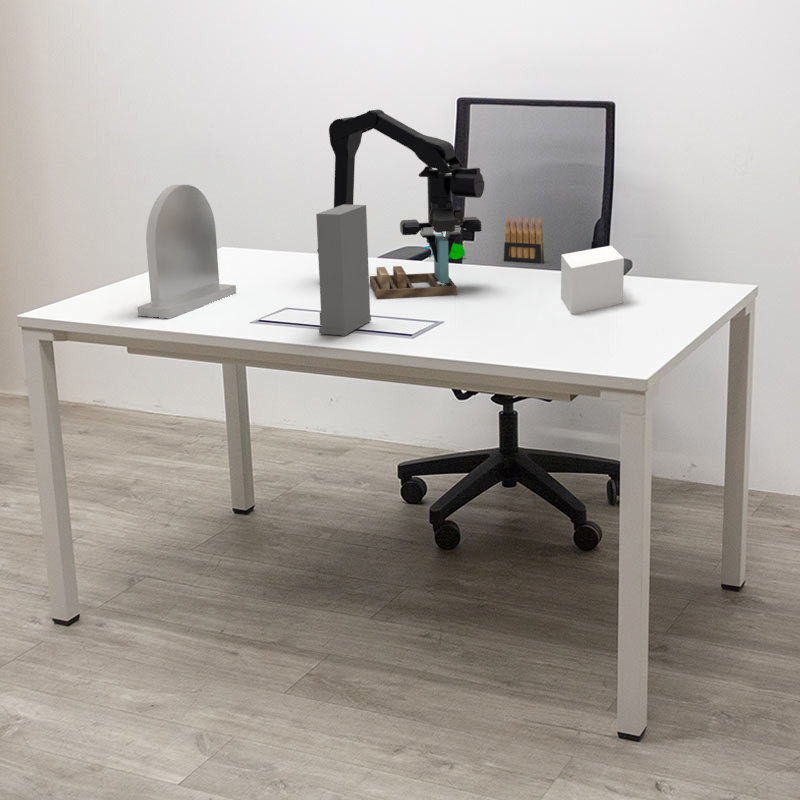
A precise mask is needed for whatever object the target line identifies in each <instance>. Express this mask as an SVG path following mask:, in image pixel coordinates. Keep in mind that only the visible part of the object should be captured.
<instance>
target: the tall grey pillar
mask: <svg viewBox="0 0 800 800" xmlns="http://www.w3.org/2000/svg"><path fill="white" fill-rule="evenodd" d="M315 214H316V232H317V233H316V234H317V235H316V236H317V249H318V251H317V257H318V275H319V277H318V278H319V280H318V281H319V295H320V312H319V326H320V327H319V328H318V333H319V334H320V335H322V336H324V335H333V336H334V335H335V336H341V337H346V336H347V335H349V334H350V333H352V332H354V331H355V330H357V329H358V328H360V327H362V326H364V325H365V324H367V323H370V321H372V315H371V306H370V305H371V304H370V303H371V302H370V275H369V274H370V272H369V252H368V251H369V246H368V244H369V243H368V220H367V219H368V218H367V216H368V215H367V204H353V205H345V204H343V205H341V206H338V207H335V208H334V207H333V208H329V209H327V210H324V211H321V212H318V213H315Z"/></svg>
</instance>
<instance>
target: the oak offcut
mask: <svg viewBox="0 0 800 800" xmlns="http://www.w3.org/2000/svg"><path fill="white" fill-rule="evenodd" d="M392 272H393V274H392V275H393V280H394V284H395V286H396V288H397V289H404V288H407V285H406V274H407V273H406V271H405V270H404V268H403V267H402V265H399V266H398V265H395V266H392Z"/></svg>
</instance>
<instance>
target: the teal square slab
mask: <svg viewBox="0 0 800 800" xmlns="http://www.w3.org/2000/svg"><path fill="white" fill-rule="evenodd" d="M434 235H435V242H436V249H437V263H436V262H435V260H434V259H433V265H434V266H433V267H434V268H433V269H434V272H433V273H434V275H435V277H436V278H437V279H438V281H437V282H439V283H440V284H445V283H449V278H450V276H449V275H450V269H449V259H448V240H447V239H446V238H445V235H444V234H443V235H442V234H441V233H437V234H436V233H435V234H434Z"/></svg>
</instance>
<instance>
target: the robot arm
mask: <svg viewBox="0 0 800 800" xmlns="http://www.w3.org/2000/svg"><path fill="white" fill-rule="evenodd" d="M328 127H329V128H328V134H329V135H328V137H329V143H330V146H331V148H332V151H333V153H334V156H335V157H334V187H333V188H334V189H333V208H335V207H338V206H341V205H343V204H345V205H354V196H355V195H354V194H355V191H354V190H355V165H356V164H355V163H356V155H357V152H358V150H359V147H360V145H361V144H362V143H361V142H362V137H363V134H364V133H367V132H369V131H371V130H374V131H377V132H379V133H381V134H382V135H384V136H386V137H388V138H390V139H391V140H393V141H395V142H397V143H399V145H401V146H403V147H406V148H407V149H409V150H411V152H413V153H414V154H415V156H416V157H417V158H418V160H420V161H421V162H422V163H423V164H424V165H426V166H424V168H423V170H421V171H420V173H418V177H420V178H426V179H427V182H426V183H427V214H428V215H427V216H428V219H427V221H428V222H419V221H418V220H417V219H402V220H401V221H400V222H399V231H400V233H401V234H402V236H415V235H417V234H418V233H419V234H420V236H421V237H422V238H425V239H426V242H427V241H428V243H427V244H428V246H430V248H429V249H430V251H431V254H433V256H432V257H433V261H434V260H435V262H436V263H437V249H436V242H435V235H434V232H435V233H437V234H441V232H443V233H444V232H445V236H446V239H447V240H448V258H449V254H450V251H451V248H452V245H453V243H454V244H455V241H456V239H457V238H458V237H461V236H462V233H461V230H463V229H464V230H466V232H468V233H479V232H482V222H481V220H480V219H479V218H478V217H476V216H465V217H464V211H463V209H455V210H454V208H453V195H454V196H455V197H456V198H471V199H472V198H474V199H479V198H480V199H481V198H482V197H483V194H484V191H485V181H484V177H483V175H482V173H481V168H480V167H472V168H467V167H466V168H465V166H464V164H462V162H461V160H460V159H459V158H458V156H457V155H456V151H455V148H454V147H455V146H454V145H453V144H452V143H451V142H449V141H447V140H444V139H441V138H437V137H434V136H429V135H426V134H423V133H421V132H419V131H417V130H415V129H413V128H412V127H410V126H408V125H406V124H405V123H403V122H401V121H399V120H398V119H396V118H394V117H392V116H391V115H388V113H385V111H383V110H382V109H379V108H377V109H372V110H367V112H364V113H362V114H360V115H356V116H349V117H343V118H336V119H335V120H333V121H332V122H331V123H330V124H329V126H328ZM316 251H317V252H318V248H317V250H316Z"/></svg>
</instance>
